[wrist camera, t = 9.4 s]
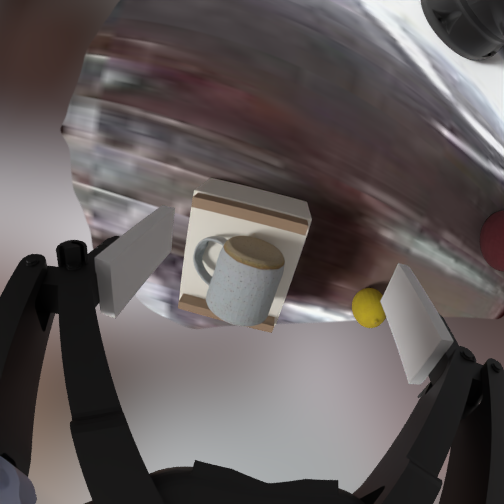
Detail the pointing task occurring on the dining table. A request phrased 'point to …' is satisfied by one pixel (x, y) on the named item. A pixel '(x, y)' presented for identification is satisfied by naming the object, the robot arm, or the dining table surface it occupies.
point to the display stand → (241, 224)
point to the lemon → (368, 308)
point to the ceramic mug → (241, 278)
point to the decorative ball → (493, 240)
